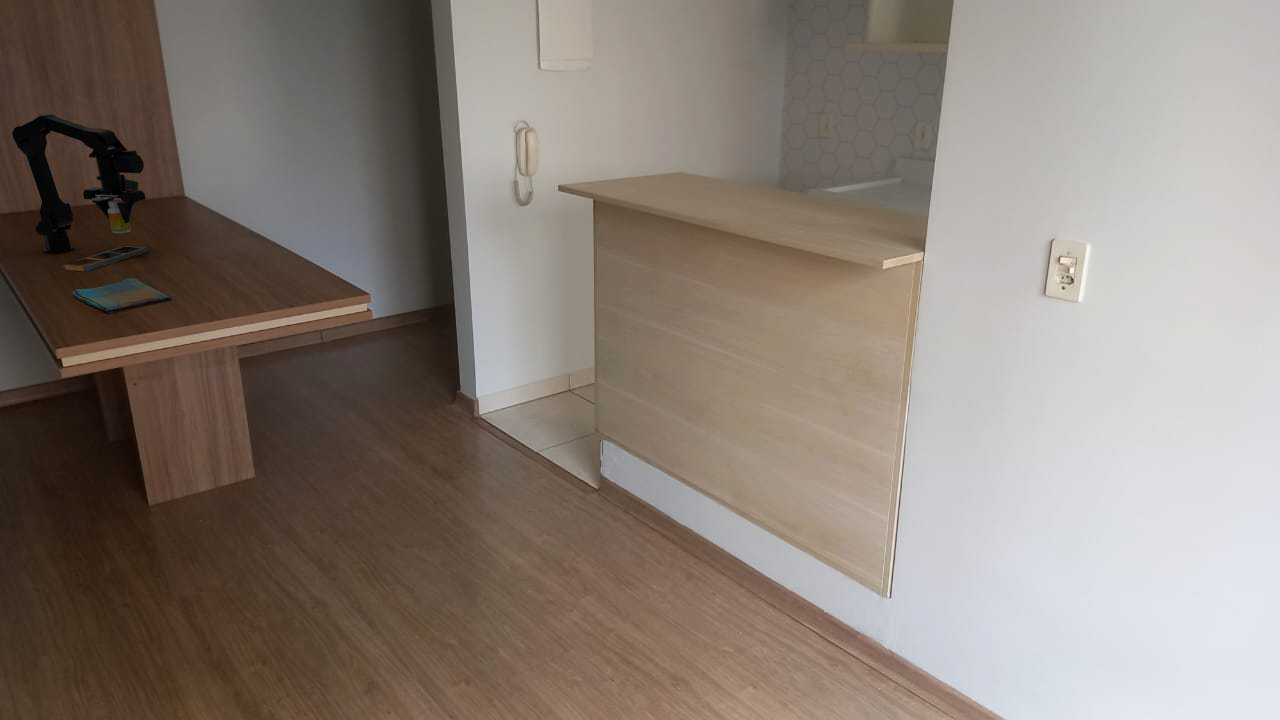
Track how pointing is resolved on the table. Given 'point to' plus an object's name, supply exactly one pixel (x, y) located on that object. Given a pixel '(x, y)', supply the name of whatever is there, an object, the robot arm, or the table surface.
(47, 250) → the robot arm
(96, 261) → the divided tray
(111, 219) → the supplement bottle
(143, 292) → the dish towel
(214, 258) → the table surface
